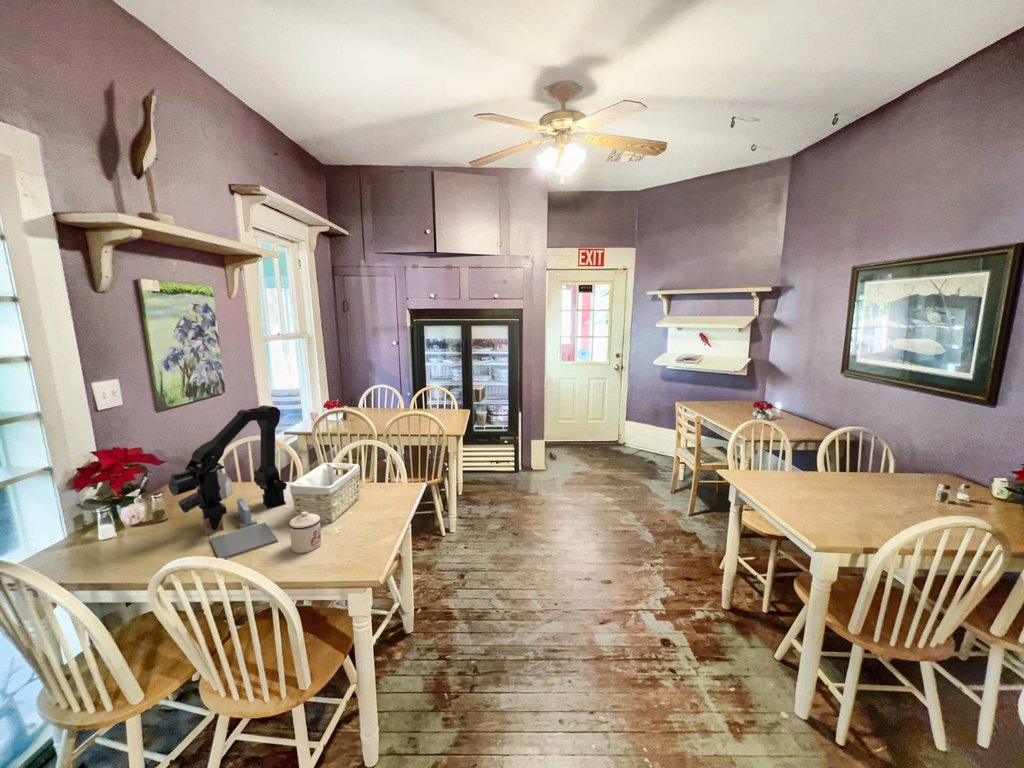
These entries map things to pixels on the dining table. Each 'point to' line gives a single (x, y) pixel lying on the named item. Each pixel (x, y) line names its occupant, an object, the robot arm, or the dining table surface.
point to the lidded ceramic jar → (305, 532)
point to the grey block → (225, 485)
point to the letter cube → (208, 526)
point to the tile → (243, 540)
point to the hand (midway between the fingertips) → (213, 526)
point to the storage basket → (326, 491)
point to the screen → (244, 514)
